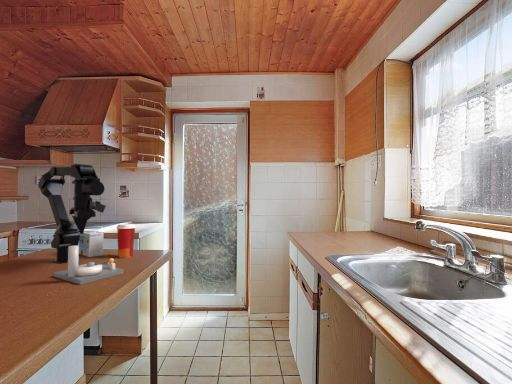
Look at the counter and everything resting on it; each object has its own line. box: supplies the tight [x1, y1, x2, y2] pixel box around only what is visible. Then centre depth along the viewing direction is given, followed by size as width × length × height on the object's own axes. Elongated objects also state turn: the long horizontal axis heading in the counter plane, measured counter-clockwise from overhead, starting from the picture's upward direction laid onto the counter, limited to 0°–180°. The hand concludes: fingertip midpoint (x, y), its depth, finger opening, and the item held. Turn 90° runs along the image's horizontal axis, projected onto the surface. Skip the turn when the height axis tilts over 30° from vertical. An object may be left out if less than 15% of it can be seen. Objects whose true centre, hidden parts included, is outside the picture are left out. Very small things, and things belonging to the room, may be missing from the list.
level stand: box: [53, 257, 125, 285], centre depth 107 cm, size 16×16×5 cm
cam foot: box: [67, 244, 109, 277], centre depth 105 cm, size 14×9×10 cm, turn 149°
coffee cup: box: [116, 223, 137, 259], centre depth 137 cm, size 8×8×15 cm
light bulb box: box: [78, 229, 105, 258], centre depth 141 cm, size 11×7×11 cm, turn 54°
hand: (81, 233), depth 121 cm, fingers closed
